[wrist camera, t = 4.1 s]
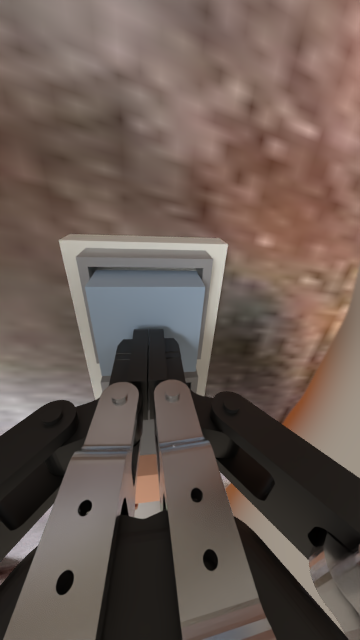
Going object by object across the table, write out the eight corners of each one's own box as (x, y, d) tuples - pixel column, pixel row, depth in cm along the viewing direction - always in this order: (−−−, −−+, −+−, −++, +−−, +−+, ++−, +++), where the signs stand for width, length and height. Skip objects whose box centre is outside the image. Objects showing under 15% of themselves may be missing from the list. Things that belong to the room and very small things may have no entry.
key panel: (69, 233, 14) (44, 248, 11) (219, 238, 15) (239, 252, 12) (113, 452, 27) (108, 489, 24) (191, 445, 29) (197, 479, 25)
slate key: (96, 270, 12) (84, 286, 10) (196, 270, 13) (205, 286, 11) (108, 350, 15) (101, 376, 13) (189, 347, 15) (195, 371, 13)
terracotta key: (123, 450, 21) (121, 478, 19) (180, 445, 22) (184, 471, 20) (128, 478, 24) (126, 504, 22) (178, 472, 25) (180, 498, 23)
